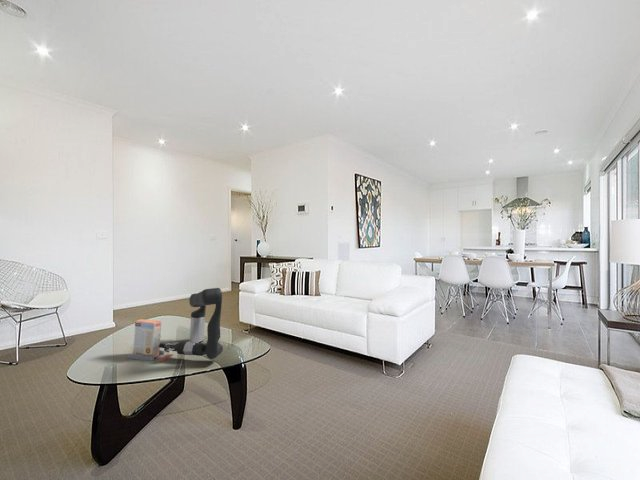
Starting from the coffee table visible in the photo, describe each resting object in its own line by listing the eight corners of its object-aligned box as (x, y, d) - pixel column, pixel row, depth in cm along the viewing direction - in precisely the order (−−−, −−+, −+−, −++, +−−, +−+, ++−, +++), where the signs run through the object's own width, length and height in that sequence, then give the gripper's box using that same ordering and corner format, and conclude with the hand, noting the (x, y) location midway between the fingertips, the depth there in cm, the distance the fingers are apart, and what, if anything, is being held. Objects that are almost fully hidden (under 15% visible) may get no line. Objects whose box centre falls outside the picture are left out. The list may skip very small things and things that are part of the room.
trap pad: (167, 354, 183) (167, 353, 183) (173, 354, 182) (173, 354, 182) (155, 361, 172) (155, 360, 172) (162, 361, 171) (162, 361, 171)
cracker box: (159, 356, 179) (162, 321, 180) (151, 359, 173) (154, 323, 174) (141, 352, 183) (143, 318, 183) (132, 356, 177) (134, 320, 178)
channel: (140, 351, 184) (140, 348, 184) (164, 354, 183) (164, 350, 183) (127, 357, 174) (127, 354, 174) (152, 360, 172) (153, 357, 172)
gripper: (194, 338, 182) (167, 335, 184) (181, 345, 169) (153, 342, 171) (193, 350, 182) (166, 348, 184) (180, 358, 169) (152, 355, 171)
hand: (160, 345), depth 177 cm, fingers closed
